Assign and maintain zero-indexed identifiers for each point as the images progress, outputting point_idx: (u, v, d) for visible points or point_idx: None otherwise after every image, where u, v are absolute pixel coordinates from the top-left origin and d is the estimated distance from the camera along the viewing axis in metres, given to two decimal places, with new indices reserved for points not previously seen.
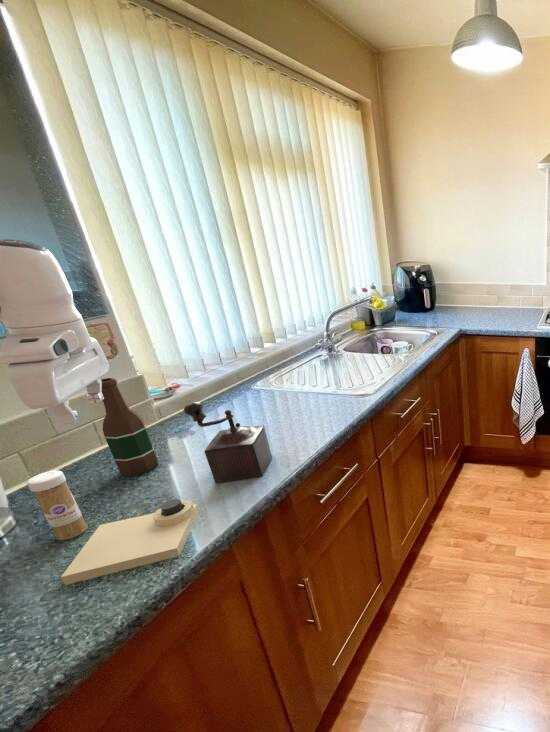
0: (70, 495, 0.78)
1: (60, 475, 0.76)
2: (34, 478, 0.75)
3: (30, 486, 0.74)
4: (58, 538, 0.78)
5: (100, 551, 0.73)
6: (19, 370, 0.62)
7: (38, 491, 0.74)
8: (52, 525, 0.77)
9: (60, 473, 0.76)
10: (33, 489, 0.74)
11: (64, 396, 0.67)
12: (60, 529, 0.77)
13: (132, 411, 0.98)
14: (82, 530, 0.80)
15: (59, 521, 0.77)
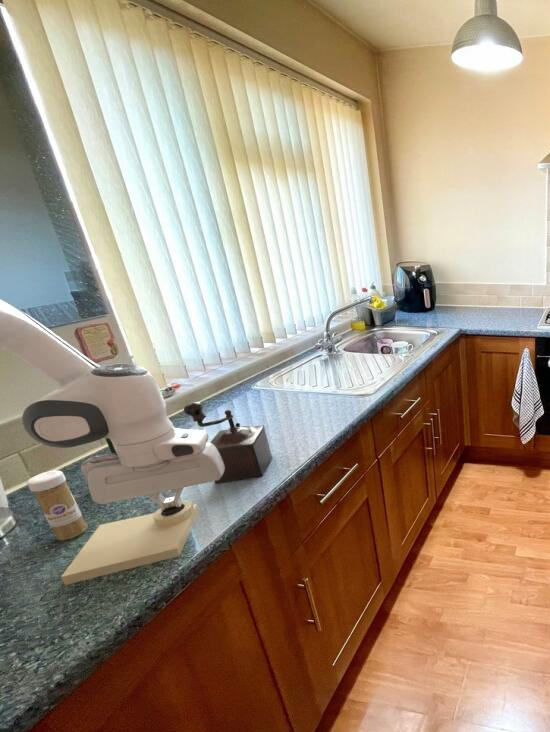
0: (70, 495, 0.78)
1: (60, 475, 0.76)
2: (34, 478, 0.75)
3: (30, 486, 0.74)
4: (58, 538, 0.78)
5: (100, 551, 0.73)
6: (209, 451, 0.80)
7: (38, 491, 0.74)
8: (52, 525, 0.77)
9: (60, 473, 0.76)
10: (33, 489, 0.74)
11: None
12: (60, 529, 0.77)
13: None
14: (82, 530, 0.80)
15: (59, 521, 0.77)
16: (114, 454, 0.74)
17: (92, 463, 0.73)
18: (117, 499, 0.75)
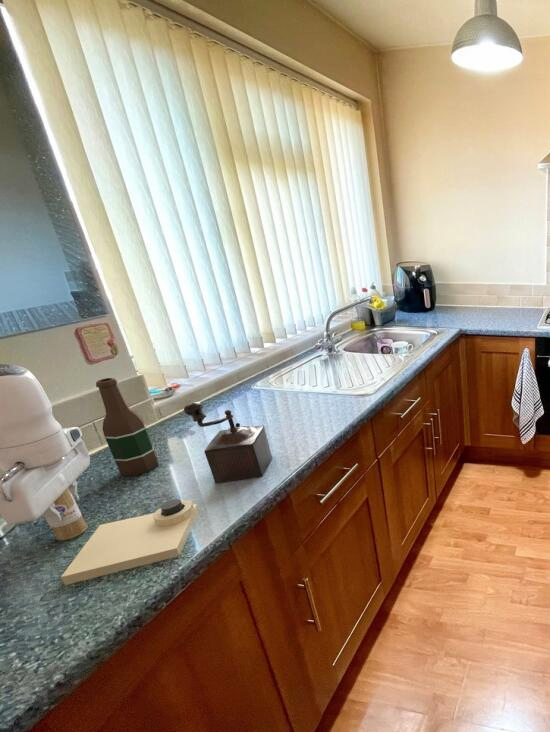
0: (70, 495, 0.78)
1: (59, 476, 0.76)
2: None
3: None
4: (58, 538, 0.78)
5: (100, 551, 0.73)
6: None
7: None
8: (52, 525, 0.77)
9: None
10: None
11: None
12: (60, 529, 0.77)
13: (132, 411, 0.98)
14: (82, 530, 0.80)
15: None
16: (18, 464, 0.69)
17: (7, 480, 0.67)
18: (46, 507, 0.72)
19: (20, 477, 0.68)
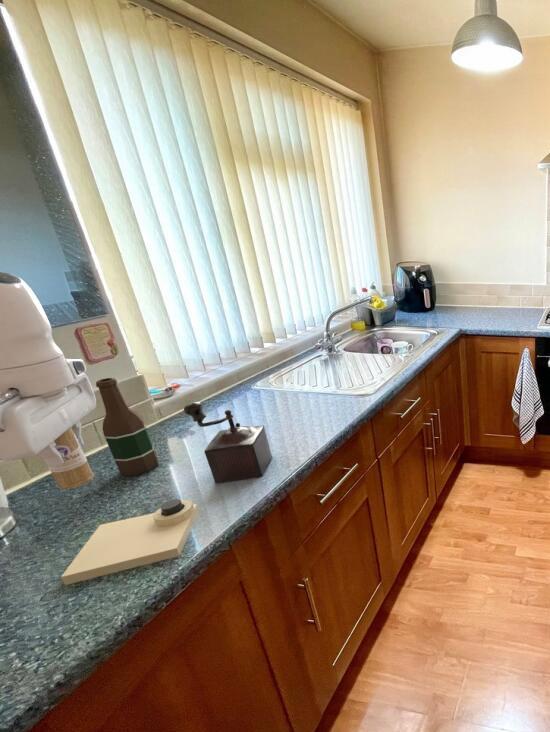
0: (73, 436, 0.67)
1: (61, 411, 0.65)
2: None
3: None
4: (60, 486, 0.67)
5: (100, 551, 0.73)
6: None
7: None
8: (53, 470, 0.66)
9: None
10: None
11: None
12: (62, 475, 0.66)
13: (132, 411, 0.98)
14: (88, 478, 0.69)
15: None
16: (12, 390, 0.58)
17: None
18: (45, 444, 0.60)
19: (14, 404, 0.57)
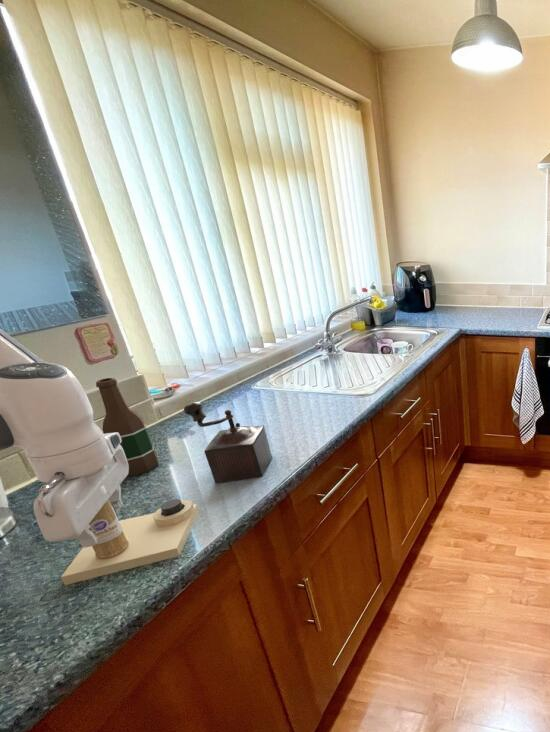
0: (111, 509, 0.71)
1: (101, 488, 0.69)
2: None
3: None
4: (98, 556, 0.71)
5: None
6: None
7: None
8: None
9: None
10: None
11: None
12: (100, 546, 0.70)
13: (132, 411, 0.98)
14: (123, 547, 0.73)
15: None
16: (59, 475, 0.62)
17: (48, 493, 0.60)
18: (88, 523, 0.65)
19: (61, 489, 0.61)
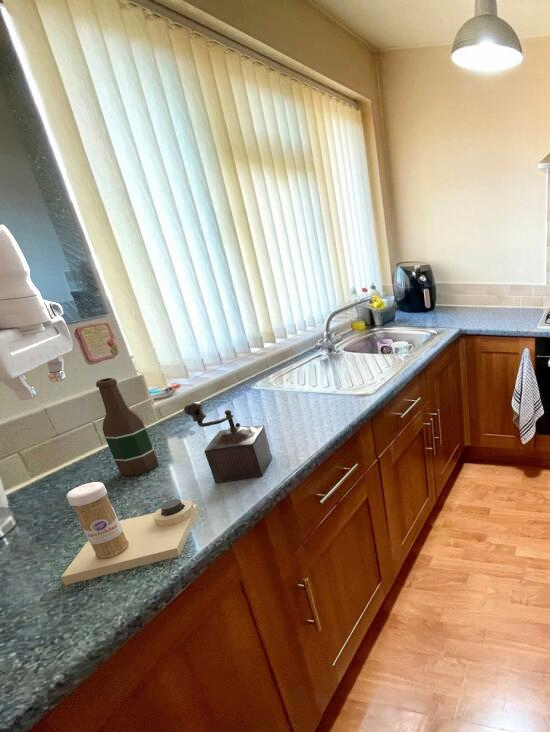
0: (111, 509, 0.71)
1: (101, 488, 0.69)
2: (74, 491, 0.68)
3: (70, 500, 0.67)
4: (98, 556, 0.71)
5: None
6: None
7: (78, 505, 0.67)
8: (92, 542, 0.70)
9: (101, 485, 0.70)
10: (73, 503, 0.67)
11: None
12: (100, 546, 0.70)
13: (132, 411, 0.98)
14: (123, 547, 0.73)
15: (99, 537, 0.70)
16: None
17: None
18: (22, 372, 0.67)
19: None
